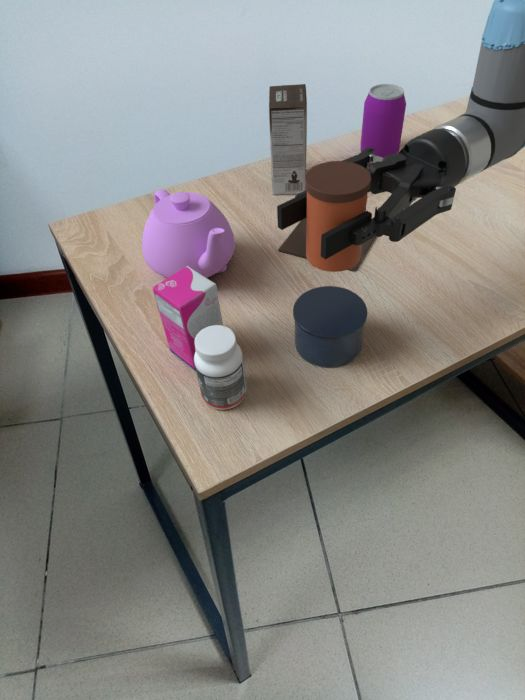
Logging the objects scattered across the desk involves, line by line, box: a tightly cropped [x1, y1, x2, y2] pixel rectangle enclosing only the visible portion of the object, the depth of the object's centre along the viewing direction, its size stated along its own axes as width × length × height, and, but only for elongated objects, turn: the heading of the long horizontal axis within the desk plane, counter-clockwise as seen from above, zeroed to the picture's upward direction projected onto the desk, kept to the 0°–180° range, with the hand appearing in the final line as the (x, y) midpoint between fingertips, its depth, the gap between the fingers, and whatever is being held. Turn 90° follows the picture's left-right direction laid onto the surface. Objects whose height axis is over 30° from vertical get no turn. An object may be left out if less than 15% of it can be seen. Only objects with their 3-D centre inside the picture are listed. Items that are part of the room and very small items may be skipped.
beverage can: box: [360, 83, 407, 158], centre depth 102 cm, size 8×8×12 cm
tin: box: [292, 285, 368, 369], centre depth 69 cm, size 9×9×6 cm
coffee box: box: [268, 83, 308, 196], centre depth 94 cm, size 9×6×16 cm
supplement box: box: [152, 266, 224, 372], centre depth 68 cm, size 6×6×12 cm
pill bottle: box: [194, 325, 247, 411], centre depth 63 cm, size 6×6×10 cm
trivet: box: [277, 218, 376, 272], centre depth 88 cm, size 13×14×1 cm
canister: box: [305, 160, 371, 273], centre depth 59 cm, size 7×7×10 cm
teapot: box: [141, 189, 236, 279], centre depth 79 cm, size 20×14×12 cm
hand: (301, 232), depth 56 cm, fingers closed on canister, 6 cm apart
